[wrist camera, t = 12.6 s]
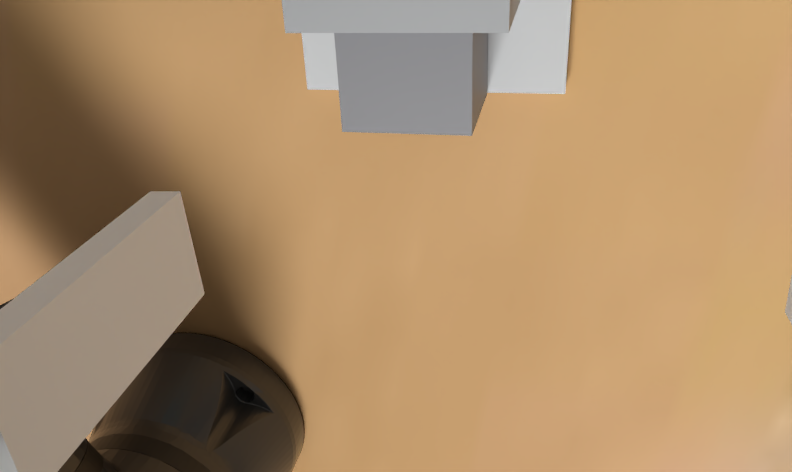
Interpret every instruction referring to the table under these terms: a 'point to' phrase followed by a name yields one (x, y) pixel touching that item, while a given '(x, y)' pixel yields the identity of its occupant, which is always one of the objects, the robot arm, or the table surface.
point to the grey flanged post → (429, 57)
